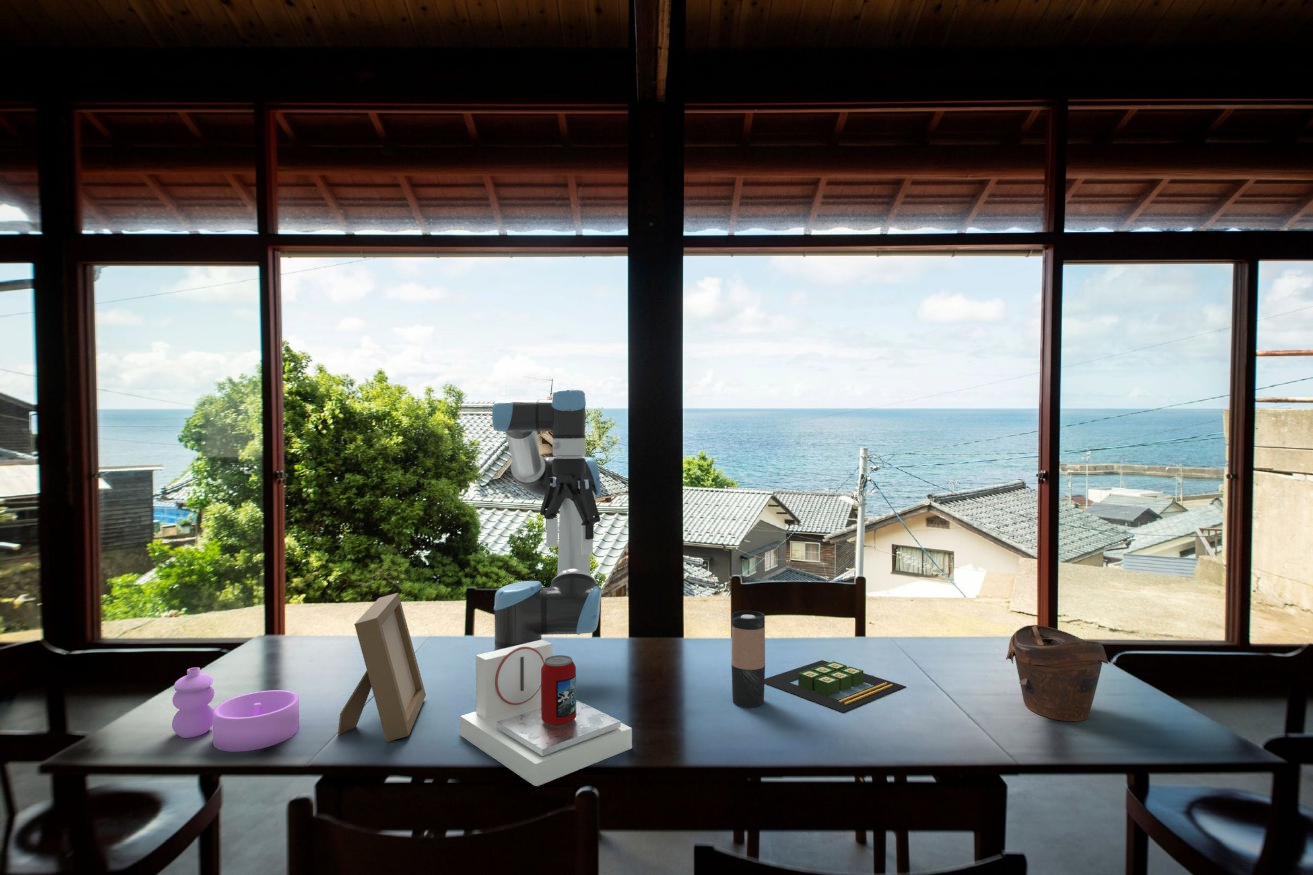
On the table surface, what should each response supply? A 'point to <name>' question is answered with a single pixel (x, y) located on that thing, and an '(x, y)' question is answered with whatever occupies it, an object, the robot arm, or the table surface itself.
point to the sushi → (832, 685)
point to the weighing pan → (557, 729)
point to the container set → (234, 715)
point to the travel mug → (748, 658)
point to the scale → (516, 689)
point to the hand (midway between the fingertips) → (569, 550)
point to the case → (1056, 671)
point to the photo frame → (386, 671)
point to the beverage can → (558, 690)
